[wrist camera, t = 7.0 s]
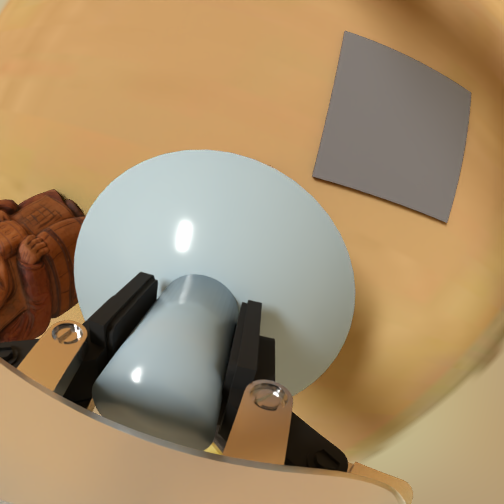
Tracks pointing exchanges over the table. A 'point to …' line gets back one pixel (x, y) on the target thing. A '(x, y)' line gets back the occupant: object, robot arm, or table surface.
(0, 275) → the wooden figurine
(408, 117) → the mat
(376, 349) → the table surface
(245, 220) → the lid
